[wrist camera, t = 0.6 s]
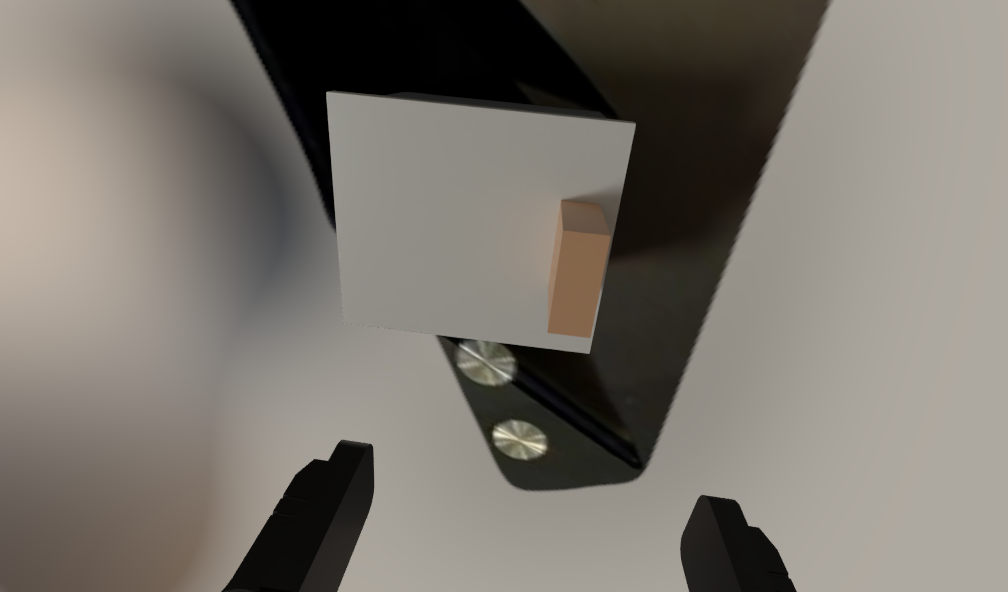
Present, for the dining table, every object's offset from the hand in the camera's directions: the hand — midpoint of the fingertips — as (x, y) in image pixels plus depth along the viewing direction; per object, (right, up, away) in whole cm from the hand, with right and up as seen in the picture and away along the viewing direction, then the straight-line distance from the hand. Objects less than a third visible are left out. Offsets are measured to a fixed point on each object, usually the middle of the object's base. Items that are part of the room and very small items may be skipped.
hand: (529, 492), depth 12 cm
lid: (-2, +9, +16) cm, 18 cm away
